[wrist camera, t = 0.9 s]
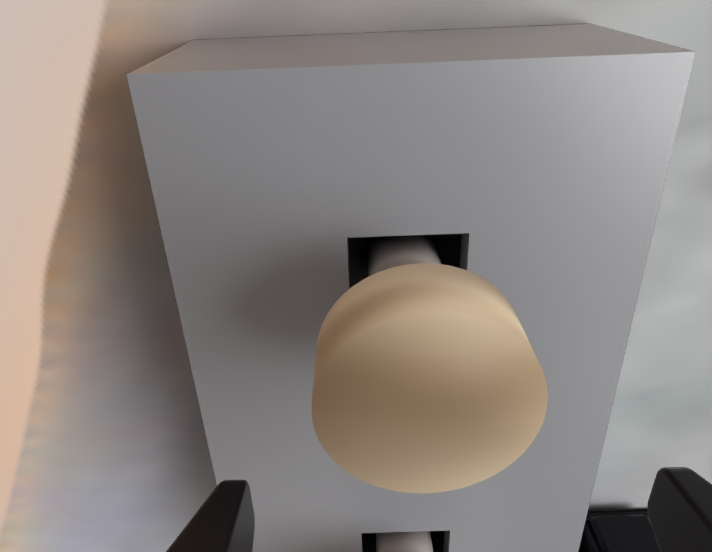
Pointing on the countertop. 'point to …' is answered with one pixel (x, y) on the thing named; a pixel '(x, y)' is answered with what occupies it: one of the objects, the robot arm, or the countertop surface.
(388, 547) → the far cap
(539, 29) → the housing
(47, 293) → the countertop surface
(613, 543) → the robot arm
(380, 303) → the near cap
